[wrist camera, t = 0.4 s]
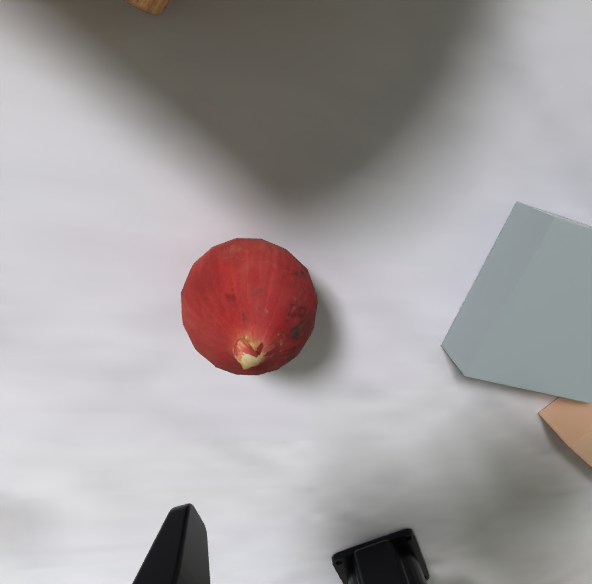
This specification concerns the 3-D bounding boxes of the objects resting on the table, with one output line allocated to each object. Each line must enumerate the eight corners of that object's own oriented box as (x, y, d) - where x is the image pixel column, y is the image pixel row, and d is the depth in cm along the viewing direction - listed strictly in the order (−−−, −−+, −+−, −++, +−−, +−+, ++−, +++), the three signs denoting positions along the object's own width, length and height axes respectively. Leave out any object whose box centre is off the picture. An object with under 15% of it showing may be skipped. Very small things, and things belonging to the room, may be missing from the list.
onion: (309, 220, 21) (345, 288, 14) (299, 322, 24) (326, 424, 17) (188, 214, 21) (162, 284, 13) (191, 320, 23) (170, 428, 16)
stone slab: (561, 373, 28) (596, 404, 25) (441, 345, 26) (464, 376, 23) (647, 246, 24) (698, 265, 22) (516, 201, 22) (555, 217, 20)
